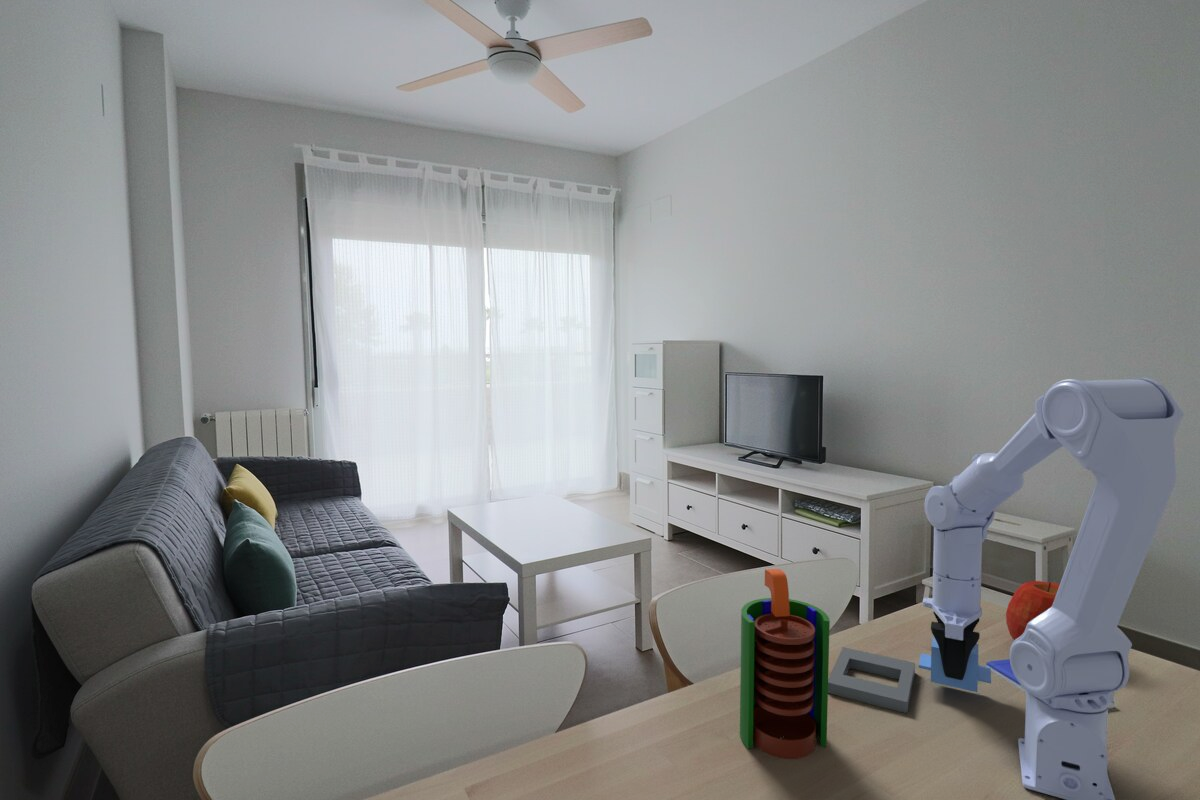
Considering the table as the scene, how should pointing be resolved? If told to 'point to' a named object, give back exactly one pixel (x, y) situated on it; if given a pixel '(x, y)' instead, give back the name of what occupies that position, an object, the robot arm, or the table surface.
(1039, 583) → the apple
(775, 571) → the motor
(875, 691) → the grey flat frame
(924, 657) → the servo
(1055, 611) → the robot arm
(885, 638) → the table surface
